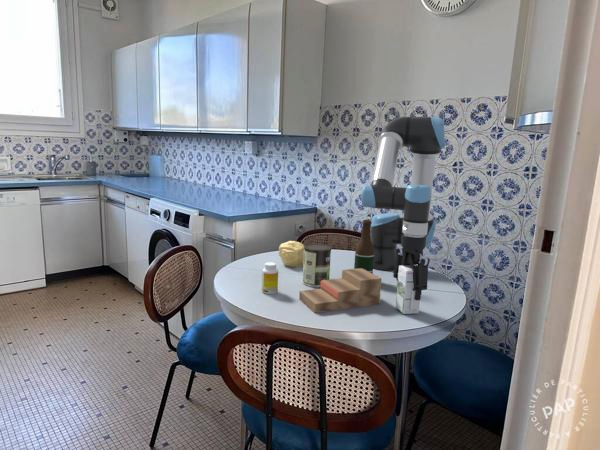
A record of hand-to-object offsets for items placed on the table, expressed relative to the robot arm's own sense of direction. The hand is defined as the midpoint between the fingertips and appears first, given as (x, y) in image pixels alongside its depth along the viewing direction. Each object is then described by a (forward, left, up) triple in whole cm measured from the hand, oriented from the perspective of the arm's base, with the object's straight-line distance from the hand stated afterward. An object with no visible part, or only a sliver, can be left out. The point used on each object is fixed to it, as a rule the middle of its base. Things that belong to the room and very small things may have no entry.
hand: (407, 304), depth 134 cm
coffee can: (+16, -34, -2) cm, 38 cm away
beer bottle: (-3, -31, -2) cm, 31 cm away
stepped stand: (+17, -14, -2) cm, 22 cm away
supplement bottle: (+36, -30, -2) cm, 47 cm away
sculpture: (+15, -58, -2) cm, 60 cm away
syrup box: (0, 0, -2) cm, 2 cm away
